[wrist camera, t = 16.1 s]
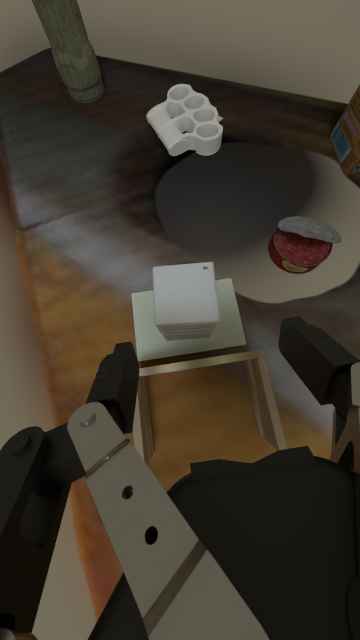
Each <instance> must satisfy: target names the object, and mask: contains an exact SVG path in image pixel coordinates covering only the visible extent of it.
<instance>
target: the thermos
mask: <svg viewBox="0 0 360 640" xmlns="http://www.w3.org/2000/svg"><path fill="white" fill-rule="evenodd" d="M32 2H33V4H34V7H35V9H36V11H37V14H38V16H39V18H40V21H41V23H42V26H43V28H44V30H45V33H46V35H47V38H48V40H49V42H50V45H51V48H52V53H53V57H54V60H55V63H56V66H57V68H58V70H59V73H60V75H61V77H62V80H63V82H64V84H65V85H66V87H67V89H68V91H69V94H70V97H71V98H72V100H74V101H75V102H77V103H81V104H88V103H92V102H94V101H97V100H98V99H99V98H101V97H102V95H103V94H104V90H105V89H104V85H103V82H102V79H101V72H100V69H99V65H98V62H97V58H96V55H95V52H94V49H93V47H92V45H91V44H90V42H89V40H88V37H87V33H86V30H85V26H84V23H83V20H82V16H81V13H80V9H79V6H78V3H77V0H32Z"/></svg>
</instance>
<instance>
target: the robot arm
mask: <svg viewBox="0 0 360 640" xmlns="http://www.w3.org/2000/svg"><path fill="white" fill-rule="evenodd" d="M279 349H280V352H281V354H282V355H283V357H284V358H285V359H286V360H287V362H288V363H289V364H290V366H291V367H292V368H293V370H294V371H295V372H296V374H297V375H298V376H299V377H300V379H301V380H302V381H303V383H304V384H305V385H306V387H307V388H308V389H309V390H310V392H311V393H312V394H313V396H314V397H315V398H316V400H317V401H318V402H319V403H320V405H326V404H333V405H334V407H335V409H334V412H333V433H332V451H331V456H330V460H328V459H325V458H321V457H317V456H313V454H312V452H311V451H310V449H309V447H308V446H304V447H298V448H291V449H284V450H278V451H276V452H274V453H272V454H270V455H268V456H266V457H264V458H262V459H260V460H258V461H256V462H254V463H243V462H236V461H228V460H221V459H217V460H211V461H204V462H197V463H191V464H190V468H191V473H190V474H188V475H186V476H184V477H183V478H181V479H180V480H178V481H177V482H176V483H175V484H174V485H173V486H172V487H171V488H170V489H169V491H168V492H167V493H166V492H165V490H164V489H163V487H162V486H161V484H160V483H159V482H158V480H157V479H156V477H155V476H154V474H153V473H152V472H151V470H150V469H149V467H148V466H147V464H146V463H145V461H144V460H143V459H142V457H141V456H140V454H139V453H138V451H137V450H136V449H135V447H134V446H133V444H132V443H131V442H130V440H129V439H128V440H127V439H126V437H125V436H124V434H127V433H132V430H133V422H134V414H135V406H136V398H137V390H138V382H139V373H140V372H139V364H138V361H137V357H136V354H135V351H134V348H133V345H132V342H125V343H119V344H116V346H115V349H114V352H113V354H110V355H107V356H106V357H105V358H104V359H103V360H102V362H101V363H100V366H99V369H98V372H97V374H96V378H95V380H94V382H93V385H92V388H91V390H90V393H89V396H88V398H87V401H86V404H85V405H83V406H81V407H80V408H79V409H77V410H76V411H75V412H74V413H73V414H72V416H71V417H70V419H69V421H68V423H65V424H63V425H61V426H59V427H56V428H54V429H52V430H50V431H47V432H44V431H43V430H42V429H41V428H40V427H35V426H34V427H28V428H26V429H23V430H21V431H20V432H18V433H17V434H15V435H14V436H13V437H11V438H10V439H9V440H8V441H7V442H6V443H5V445H4V446H3V447H2V449H1V451H0V640H37V638H36V637H35V635H33V634H32V629H33V625H34V621H35V618H36V614H37V610H38V607H39V603H40V599H41V595H42V592H43V588H44V584H45V580H46V577H47V573H48V569H49V565H50V562H51V558H52V554H53V550H54V547H55V543H56V539H57V536H58V532H59V528H60V524H61V520H62V517H63V513H64V509H65V506H66V502H67V498H68V495H69V491H70V487H71V483H72V482H74V481H76V480H78V479H80V478H82V477H83V476H85V479H86V482H87V484H88V487H89V489H90V492H91V494H92V496H93V499H94V501H95V504H96V506H97V509H98V511H99V513H100V516H101V518H102V521H103V523H104V525H105V528H106V530H107V533H108V535H109V538H110V540H111V542H112V545H113V547H114V550H115V552H116V554H117V557H118V559H119V562H120V564H121V567H122V569H123V571H124V572H123V574H122V576H121V578H120V579H119V581H118V583H117V585H116V587H115V589H114V591H113V593H112V595H111V596H110V598H109V600H108V602H107V604H106V606H105V608H104V610H103V612H102V613H101V615H100V617H99V619H98V621H97V623H96V625H95V627H94V629H93V630H92V632H91V634H90V636H89V638H88V640H360V361H359V360H358V359H357V358H356V357H355V356H353V355H352V354H351V353H350V352H348V351H347V350H346V349H345V348H344V347H342V346H341V345H340V344H339V343H336V341H335V340H334V339H333V338H331V337H330V336H329V335H328V334H327V333H325V332H324V331H323V330H322V329H319V328H317V327H315V326H313V325H309V324H307V323H306V322H305V321H304V320H303V319H302V318H300V317H295V318H288V319H283V320H282V323H281V330H280V337H279Z"/></svg>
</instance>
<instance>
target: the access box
mask: <svg viewBox="0 0 360 640" xmlns="http://www.w3.org/2000/svg"><path fill="white" fill-rule="evenodd" d="M239 361H243V363H244V367H245V372H246V376H247V381H248V385H249V390H250V394H251V399H252V403H253V408H254V412H255V417H256V421H257V425H258V430H259V434H260V435H261V436H262V437H263V438H264V439H265V440H267V441H268V442H269V443H270V444H271V445H272V446H274V447H275V448H276V449H277V450H284V449H287V445H286V441H285V437H284V433H283V429H282V425H281V421H280V417H279V413H278V409H277V405H276V401H275V397H274V393H273V389H272V385H271V381H270V377H269V373H268V369H267V365H266V361H265V357H264V353H263V349H261V350H255V351H248V352H242V353H235V354H229V355H223V356H216V357H210V358H203V359H197V360H191V361H184V362H178V363H171V364H165V365H159V366H152V367H146V368H139V372H140V373H139V382H138V390H137V398H136V406H135V414H134V422H133V435H134V446H135V449H136V450H137V451H138V453H139V454H140V456H141V457H142V459H143V460H144V461H145V463H146V464H147V466H148V465H149V463H150V460H151V458H152V456H153V453H154V442H153V433H152V423H151V414H150V405H149V395H148V386H147V377H146V376H150V375H156V374H163V373H169V372H175V371H182V370H188V369H195V368H201V367H207V366H214V365H220V364H227V363H233V362H239Z"/></svg>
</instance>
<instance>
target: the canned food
mask: <svg viewBox="0 0 360 640" xmlns="http://www.w3.org/2000/svg"><path fill="white" fill-rule="evenodd" d="M340 241H341V237H340V236H339V234H338V232H337V231H335V230H334V229H332V228H331V227H330V226H329V225H326V224H324V223H322V222H320V221H318V220H315V219H312V218H309V217H303V216H296V217H287V218H285V219H283V220H281V221H280V222H279V223H278V227H277V229H276V231H275V232H274V234H273V236H272V237H271V239H270V240H269V243H268V253H269V256H270V258H271V260H272V261H273V263H274V264H275V265H276V266H277V267H279V268H280V269H282V270H284V271H286V272H288V273H293V274H303V273H307V272H310V271H312V270H313V269H314V268H316V267H317V266H318V265H319V264H320V263H322V262H323V261H324V260H326V259H327V257H328V256H329V255H330V253H331V251H332V247H333V245H332V244H333V243H338V242H340Z"/></svg>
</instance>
